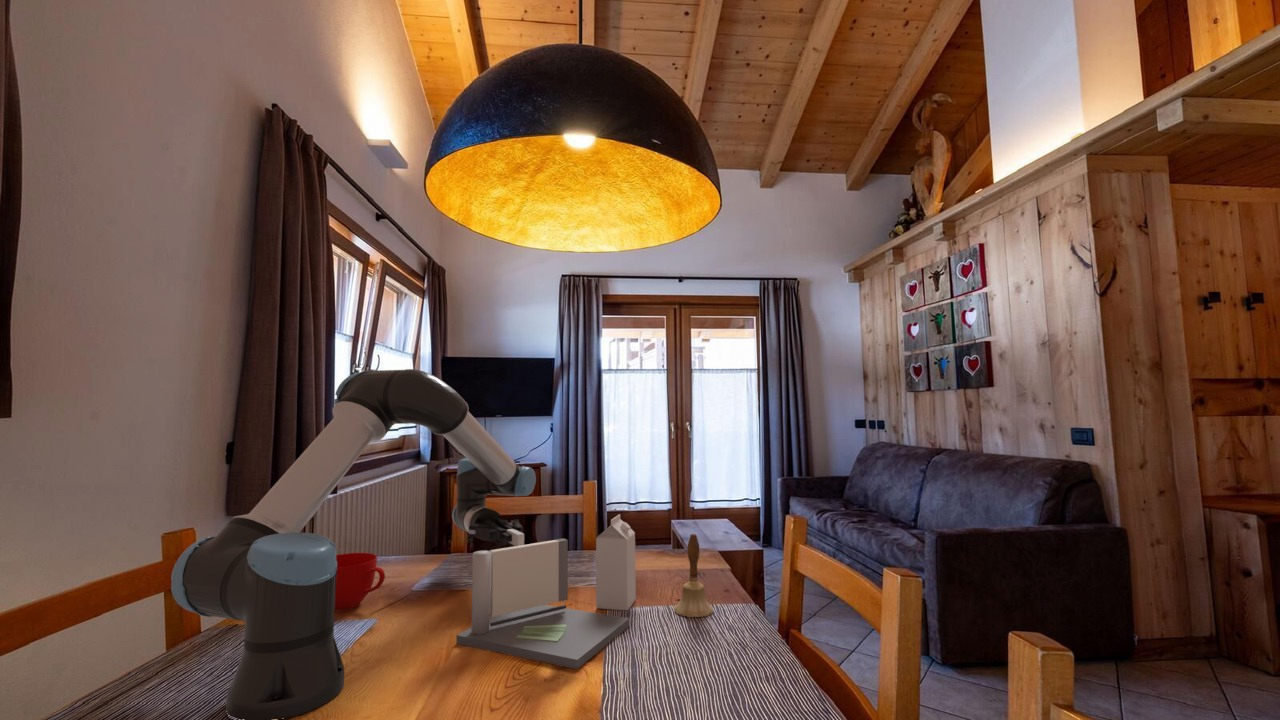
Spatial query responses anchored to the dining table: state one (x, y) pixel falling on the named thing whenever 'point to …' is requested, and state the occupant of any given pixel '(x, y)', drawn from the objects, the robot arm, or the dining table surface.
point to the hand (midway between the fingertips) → (521, 540)
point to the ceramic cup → (355, 578)
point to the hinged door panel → (518, 581)
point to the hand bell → (693, 587)
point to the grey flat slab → (549, 635)
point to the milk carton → (615, 566)
